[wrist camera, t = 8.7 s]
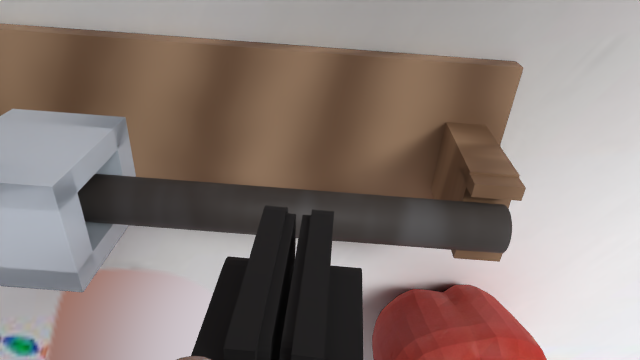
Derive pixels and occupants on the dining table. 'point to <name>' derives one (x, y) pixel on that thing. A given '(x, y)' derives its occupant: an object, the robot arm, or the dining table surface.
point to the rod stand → (283, 134)
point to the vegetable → (451, 328)
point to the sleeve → (56, 196)
